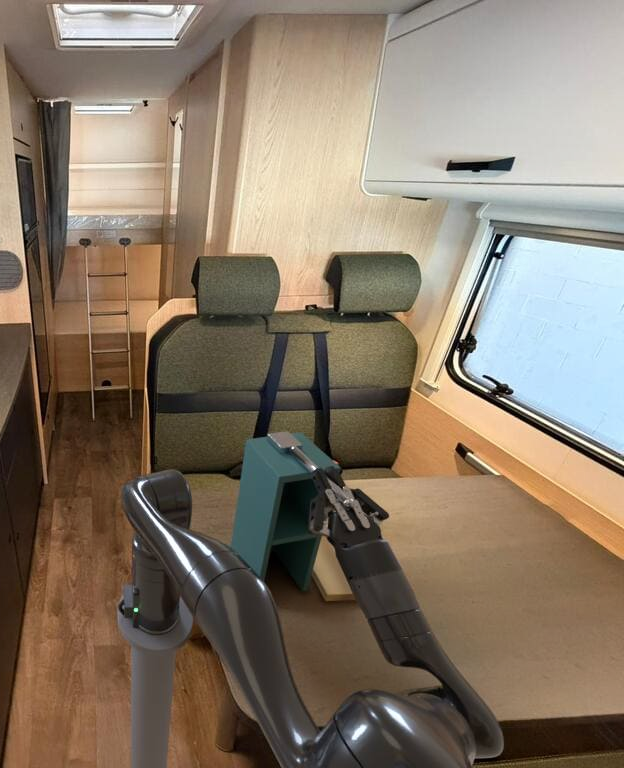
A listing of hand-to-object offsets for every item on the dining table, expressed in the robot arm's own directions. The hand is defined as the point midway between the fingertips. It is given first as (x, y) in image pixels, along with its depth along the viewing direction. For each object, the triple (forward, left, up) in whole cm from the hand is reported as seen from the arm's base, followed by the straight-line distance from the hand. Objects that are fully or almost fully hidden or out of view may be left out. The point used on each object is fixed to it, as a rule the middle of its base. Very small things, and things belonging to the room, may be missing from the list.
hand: (322, 468), depth 70 cm
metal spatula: (0, +3, -2) cm, 4 cm away
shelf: (-1, +8, -34) cm, 36 cm away
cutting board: (+14, +10, -34) cm, 38 cm away
